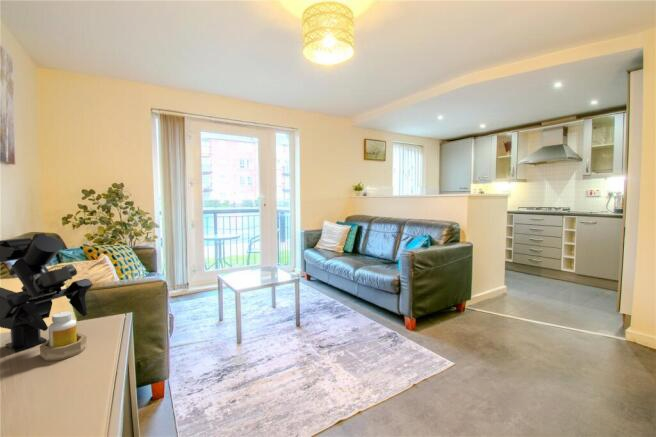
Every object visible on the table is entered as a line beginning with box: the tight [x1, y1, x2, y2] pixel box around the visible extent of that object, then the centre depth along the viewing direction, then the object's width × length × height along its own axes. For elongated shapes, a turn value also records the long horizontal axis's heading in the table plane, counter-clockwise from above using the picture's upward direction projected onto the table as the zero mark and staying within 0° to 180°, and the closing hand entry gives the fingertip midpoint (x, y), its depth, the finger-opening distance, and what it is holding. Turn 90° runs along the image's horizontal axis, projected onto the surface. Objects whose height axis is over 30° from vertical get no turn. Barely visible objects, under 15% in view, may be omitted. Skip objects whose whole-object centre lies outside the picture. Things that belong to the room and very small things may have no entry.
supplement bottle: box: [48, 311, 77, 348], centre depth 78 cm, size 5×5×10 cm
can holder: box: [39, 332, 87, 362], centre depth 78 cm, size 8×8×3 cm
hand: (67, 322), depth 77 cm, fingers open, 9 cm apart
